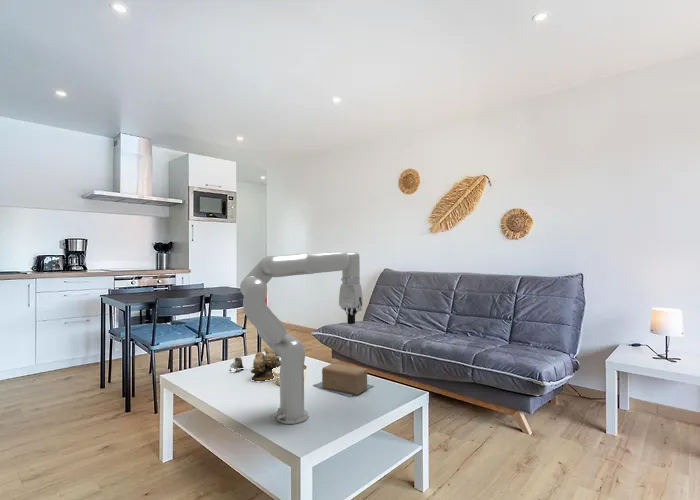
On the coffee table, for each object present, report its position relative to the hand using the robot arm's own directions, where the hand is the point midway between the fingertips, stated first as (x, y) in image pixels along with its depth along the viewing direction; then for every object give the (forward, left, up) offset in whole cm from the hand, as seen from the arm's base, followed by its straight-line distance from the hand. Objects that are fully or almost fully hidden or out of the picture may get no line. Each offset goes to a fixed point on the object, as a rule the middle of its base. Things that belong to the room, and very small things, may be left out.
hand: (351, 323), depth 171 cm
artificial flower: (0, +77, -35) cm, 85 cm away
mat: (+15, +19, -35) cm, 42 cm away
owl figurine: (0, +59, -35) cm, 69 cm away
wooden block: (+14, +5, -30) cm, 33 cm away
